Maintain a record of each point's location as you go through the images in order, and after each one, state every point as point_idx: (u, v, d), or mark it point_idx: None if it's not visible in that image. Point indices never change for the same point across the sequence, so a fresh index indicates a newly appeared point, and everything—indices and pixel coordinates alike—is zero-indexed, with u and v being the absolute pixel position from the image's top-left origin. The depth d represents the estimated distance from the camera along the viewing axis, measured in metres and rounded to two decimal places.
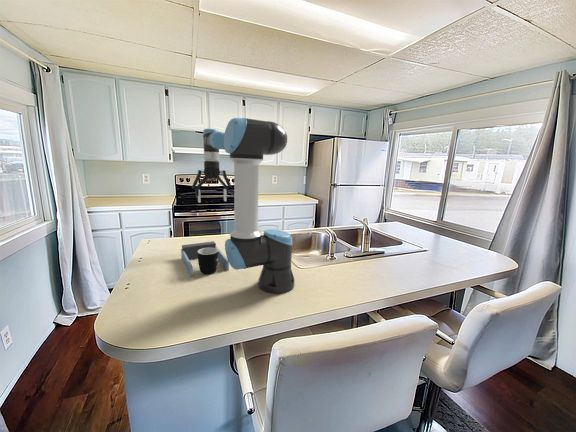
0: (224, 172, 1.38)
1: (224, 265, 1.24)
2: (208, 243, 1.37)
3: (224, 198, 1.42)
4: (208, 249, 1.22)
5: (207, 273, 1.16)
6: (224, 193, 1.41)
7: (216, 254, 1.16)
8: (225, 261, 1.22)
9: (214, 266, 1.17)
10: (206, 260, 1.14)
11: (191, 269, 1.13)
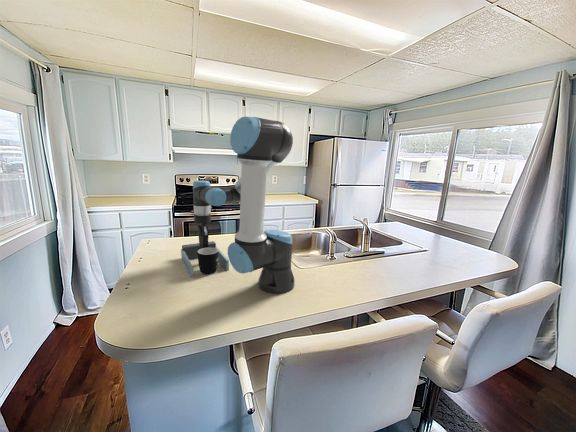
0: (203, 233, 1.19)
1: (224, 265, 1.24)
2: (208, 243, 1.37)
3: None
4: (208, 249, 1.22)
5: (207, 273, 1.16)
6: None
7: (216, 254, 1.16)
8: (225, 261, 1.22)
9: (214, 266, 1.17)
10: (206, 260, 1.14)
11: (191, 269, 1.13)
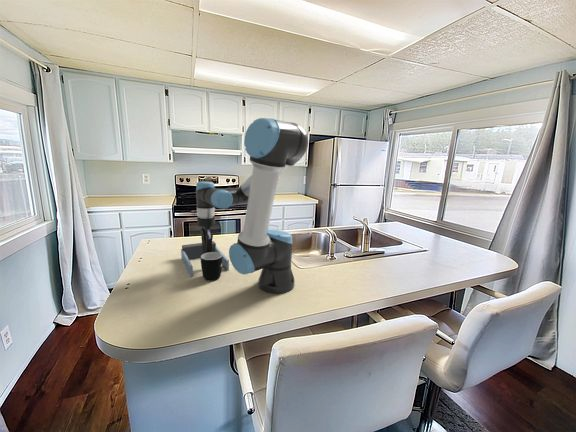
0: (206, 237, 1.13)
1: (224, 265, 1.24)
2: None
3: None
4: (212, 254, 1.16)
5: (210, 279, 1.11)
6: None
7: (220, 259, 1.11)
8: (225, 261, 1.22)
9: (218, 272, 1.11)
10: (209, 265, 1.08)
11: (191, 269, 1.13)
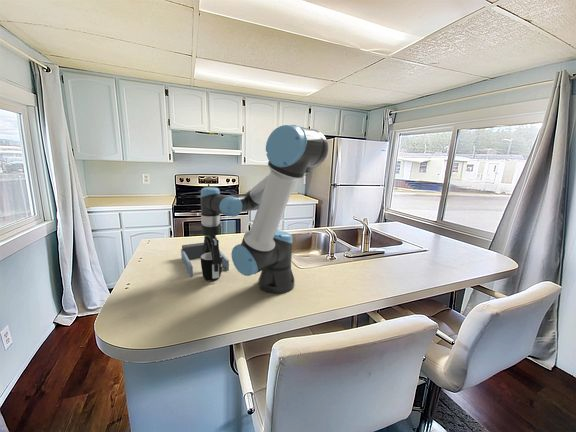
0: (212, 242, 1.06)
1: (224, 265, 1.24)
2: None
3: None
4: None
5: (210, 280, 1.11)
6: None
7: (220, 259, 1.11)
8: (225, 261, 1.22)
9: None
10: (209, 265, 1.08)
11: (191, 269, 1.13)
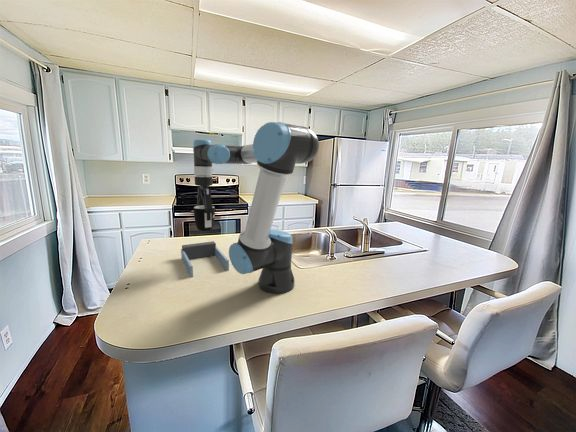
0: (204, 191, 1.11)
1: (224, 265, 1.24)
2: (208, 243, 1.37)
3: None
4: None
5: (203, 229, 1.15)
6: None
7: None
8: (225, 261, 1.22)
9: None
10: (202, 214, 1.13)
11: (191, 269, 1.13)
